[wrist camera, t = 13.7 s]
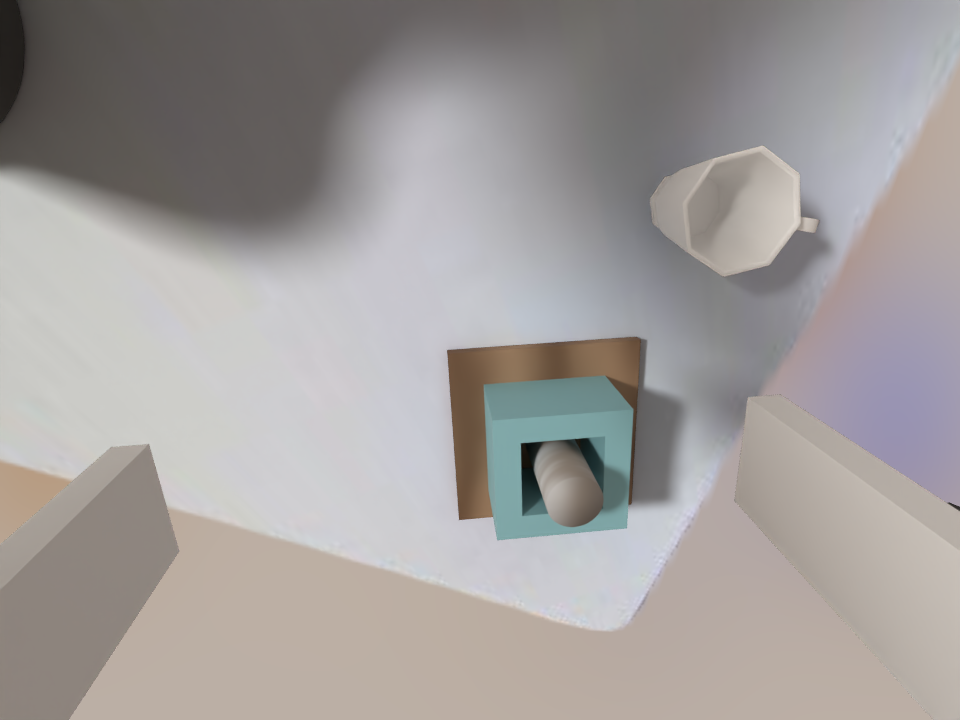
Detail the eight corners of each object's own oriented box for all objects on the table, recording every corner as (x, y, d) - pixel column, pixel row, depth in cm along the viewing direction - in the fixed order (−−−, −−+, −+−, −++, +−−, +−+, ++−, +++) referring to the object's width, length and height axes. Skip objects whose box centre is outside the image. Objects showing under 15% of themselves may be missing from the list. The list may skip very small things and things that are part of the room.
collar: (488, 490, 43) (497, 540, 37) (483, 384, 40) (492, 420, 34) (601, 481, 43) (627, 528, 38) (605, 375, 40) (633, 409, 34)
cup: (644, 140, 36) (701, 133, 28) (783, 166, 37) (874, 166, 29) (618, 248, 38) (665, 268, 30) (751, 268, 39) (827, 292, 32)
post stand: (458, 513, 44) (466, 605, 35) (447, 350, 39) (452, 406, 30) (627, 498, 45) (678, 584, 36) (636, 336, 40) (697, 387, 31)
